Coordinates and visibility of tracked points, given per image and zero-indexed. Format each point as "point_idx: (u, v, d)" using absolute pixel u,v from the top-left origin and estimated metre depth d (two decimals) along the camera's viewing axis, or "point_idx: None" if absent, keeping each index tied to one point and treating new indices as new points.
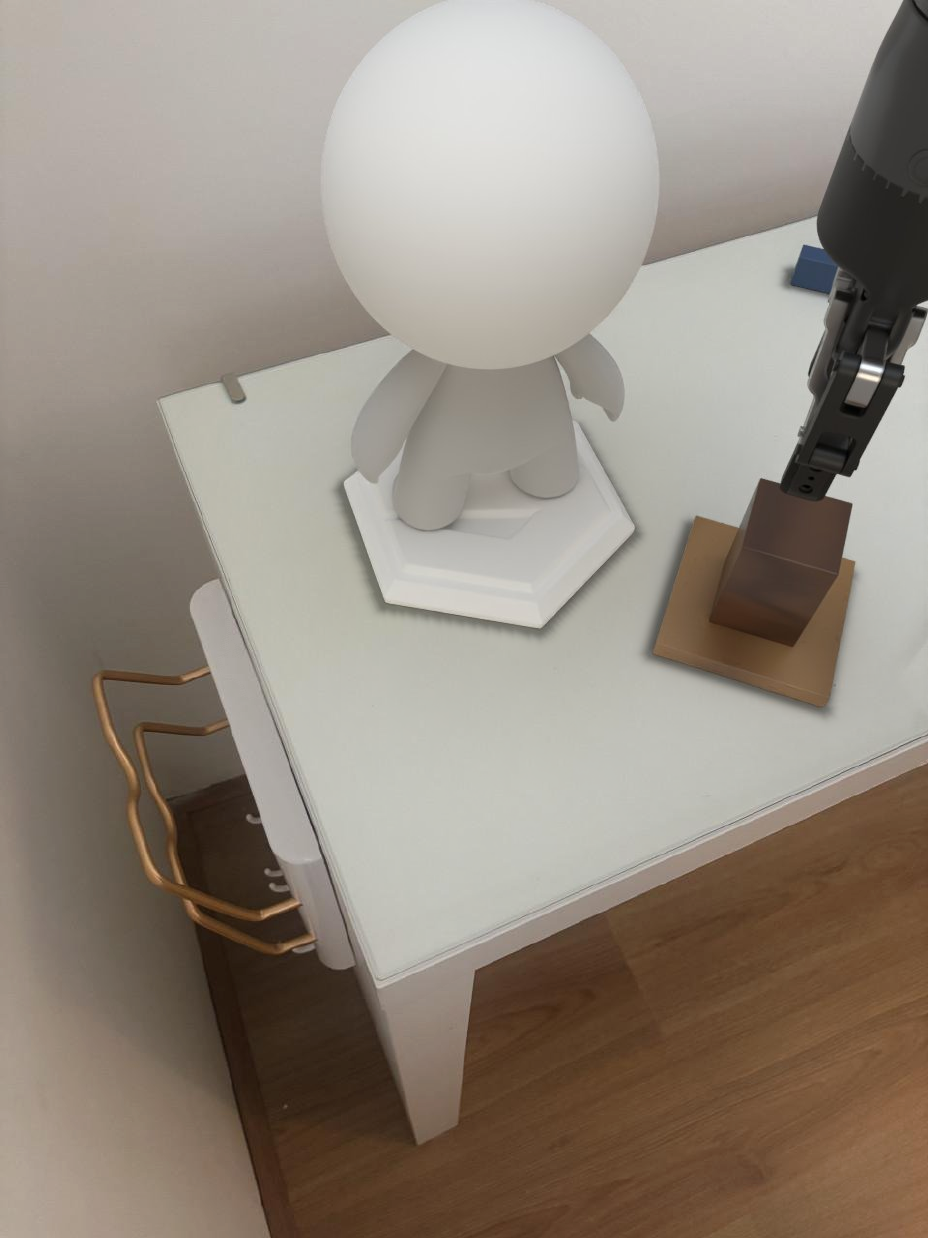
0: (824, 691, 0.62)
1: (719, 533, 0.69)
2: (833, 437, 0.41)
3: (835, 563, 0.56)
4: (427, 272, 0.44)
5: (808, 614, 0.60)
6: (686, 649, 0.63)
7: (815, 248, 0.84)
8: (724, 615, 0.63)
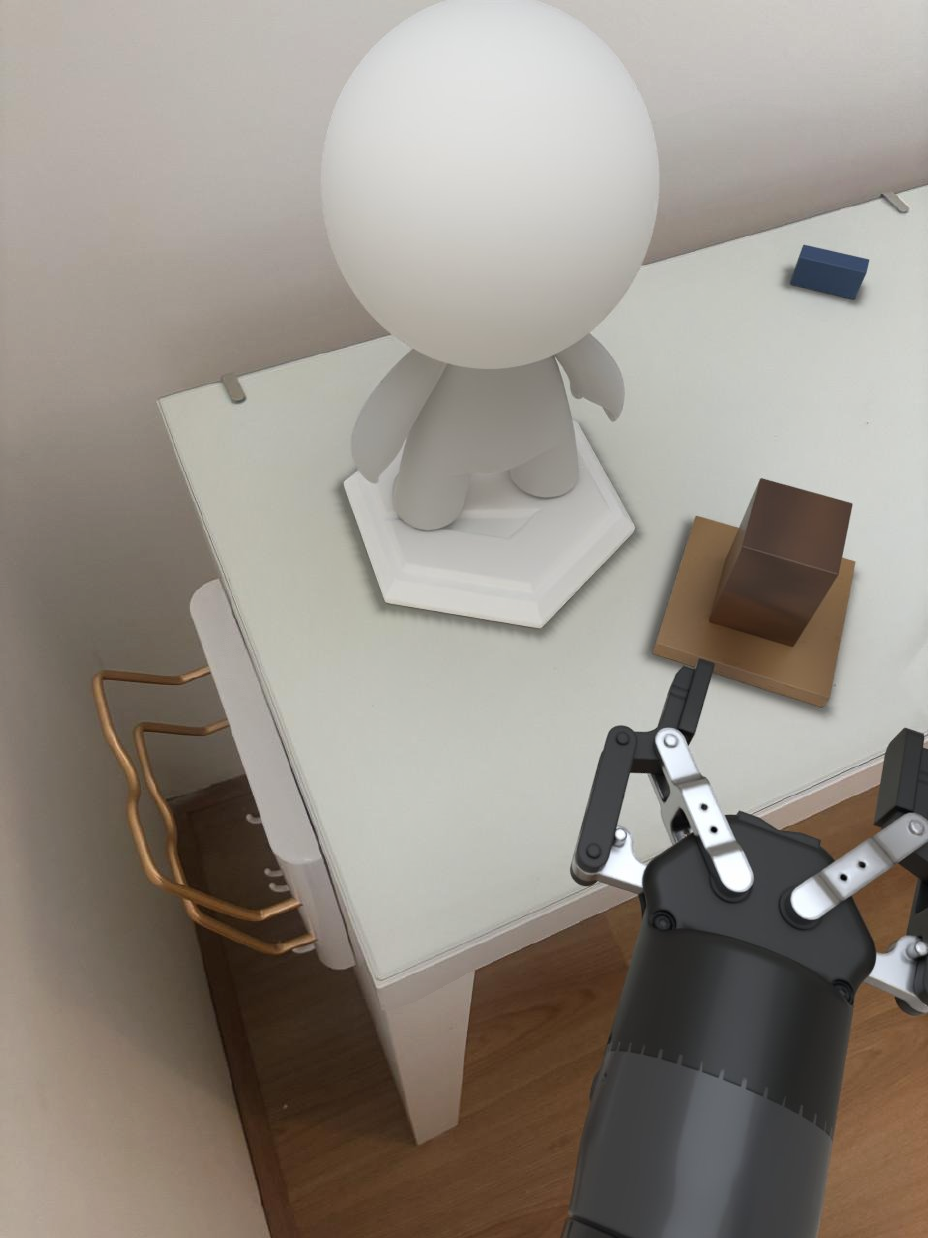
0: (824, 691, 0.62)
1: (719, 533, 0.69)
2: (921, 868, 0.35)
3: (835, 563, 0.56)
4: (427, 271, 0.44)
5: (808, 614, 0.60)
6: (686, 649, 0.63)
7: (815, 248, 0.84)
8: (724, 615, 0.63)
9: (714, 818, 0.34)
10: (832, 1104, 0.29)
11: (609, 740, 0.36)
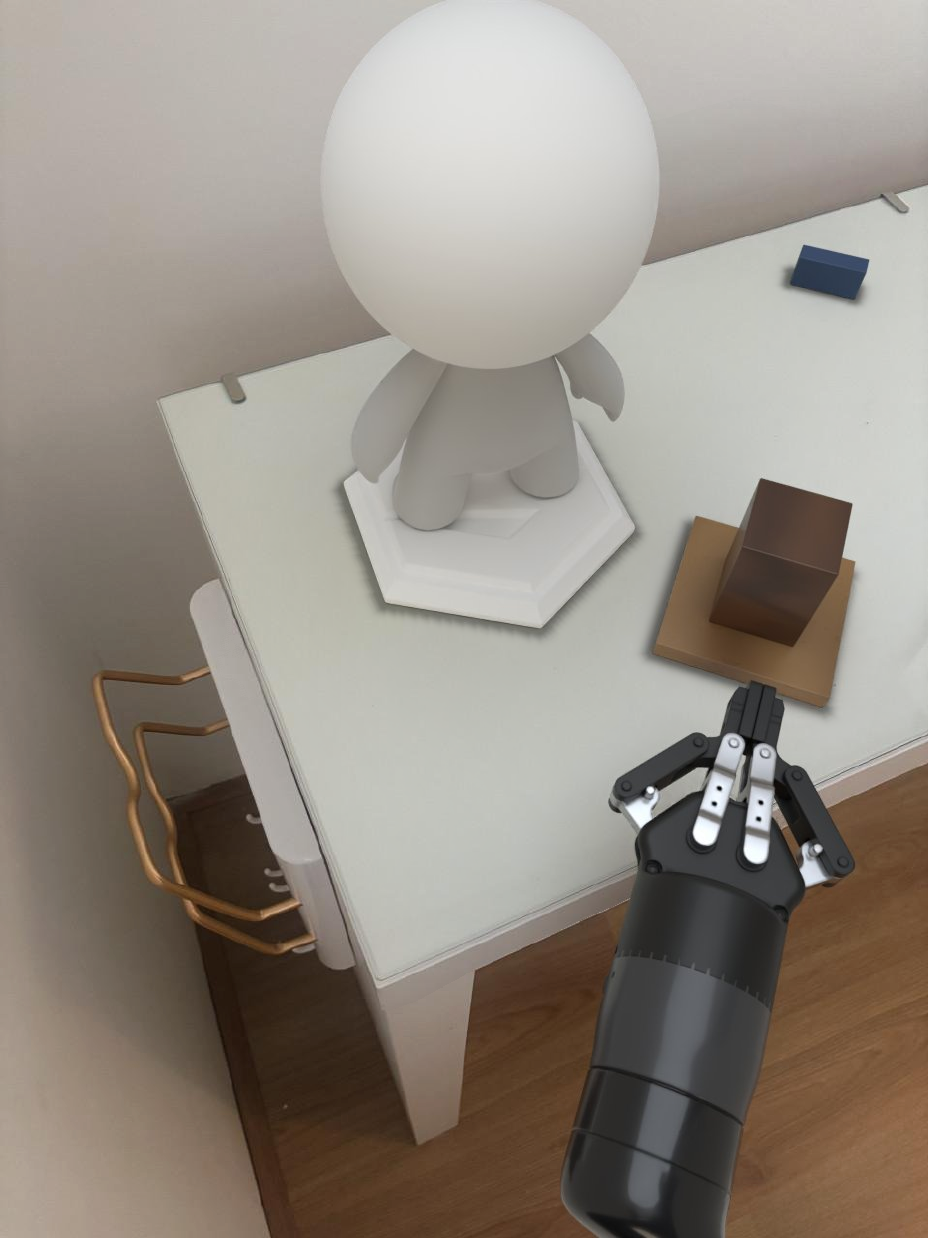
0: (824, 691, 0.62)
1: (719, 533, 0.69)
2: None
3: (835, 563, 0.56)
4: (427, 271, 0.44)
5: (808, 614, 0.60)
6: (686, 649, 0.63)
7: (815, 248, 0.84)
8: (724, 615, 0.63)
9: (720, 798, 0.47)
10: (770, 987, 0.41)
11: (688, 744, 0.49)
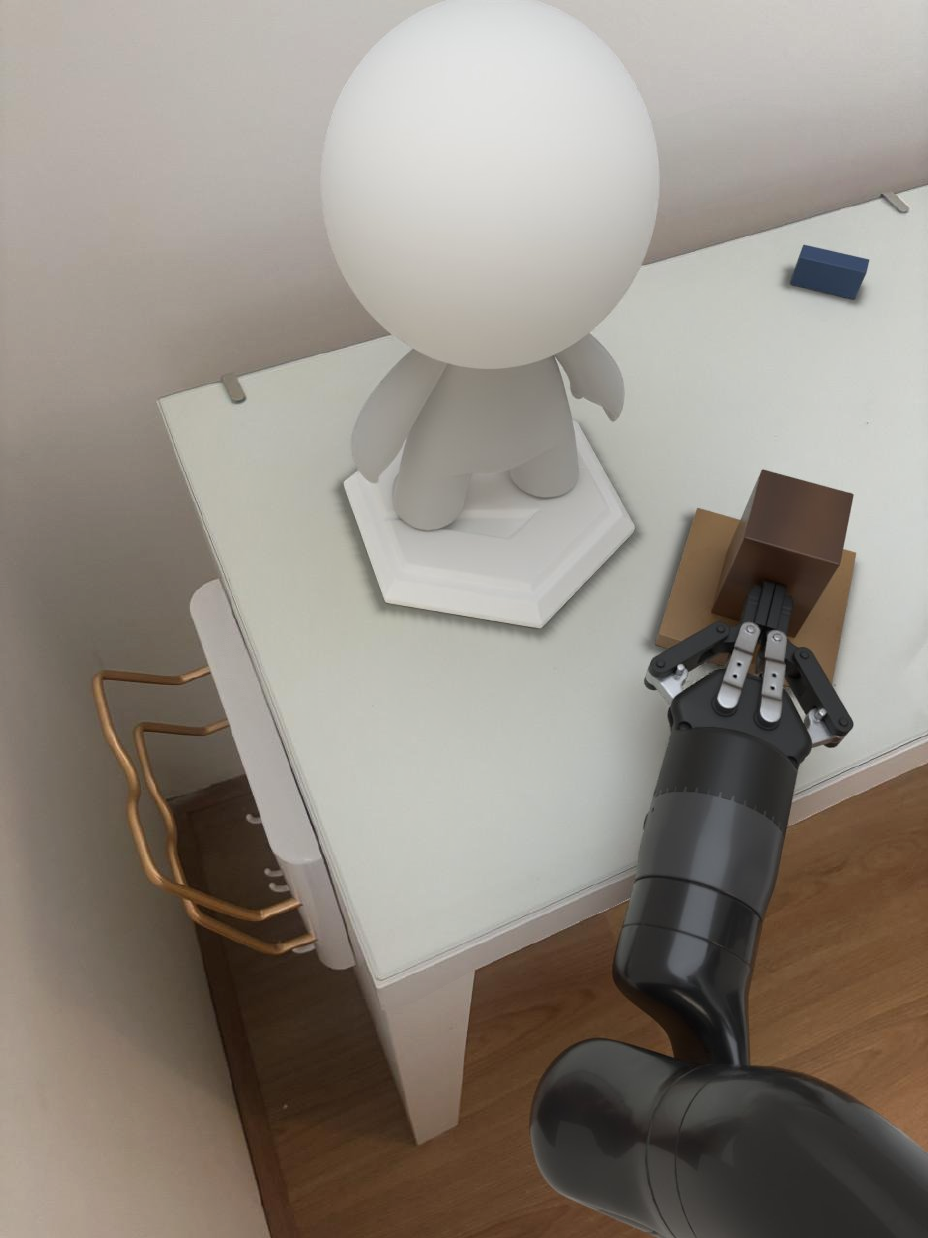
0: None
1: (721, 525, 0.69)
2: None
3: (836, 553, 0.57)
4: (427, 271, 0.44)
5: (810, 604, 0.60)
6: None
7: (815, 248, 0.84)
8: (726, 606, 0.64)
9: (740, 672, 0.55)
10: (783, 815, 0.50)
11: (712, 630, 0.57)
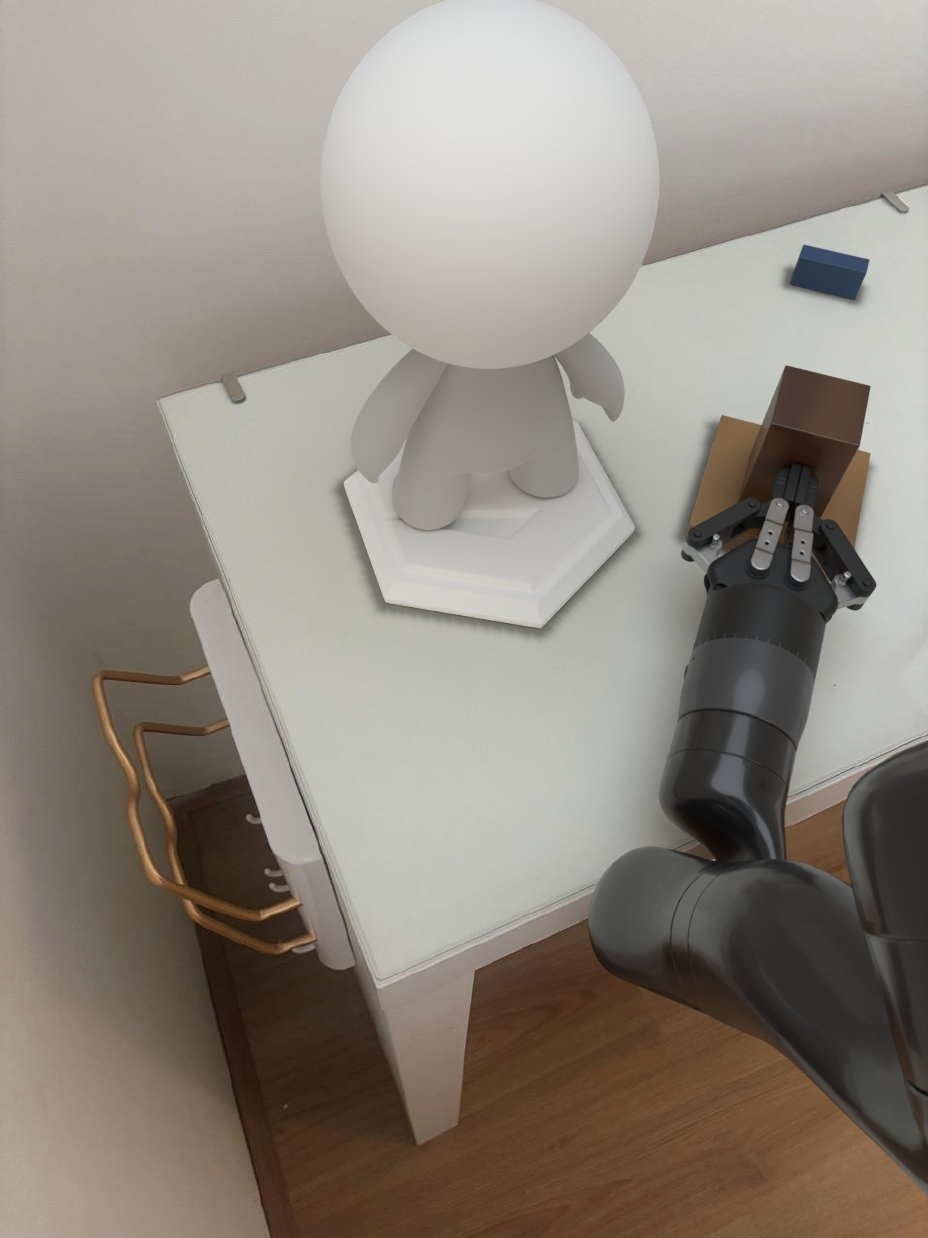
0: None
1: (744, 429, 0.74)
2: None
3: (856, 436, 0.62)
4: (427, 271, 0.44)
5: (830, 490, 0.65)
6: None
7: (815, 248, 0.84)
8: None
9: (771, 539, 0.60)
10: (814, 659, 0.55)
11: (744, 505, 0.62)
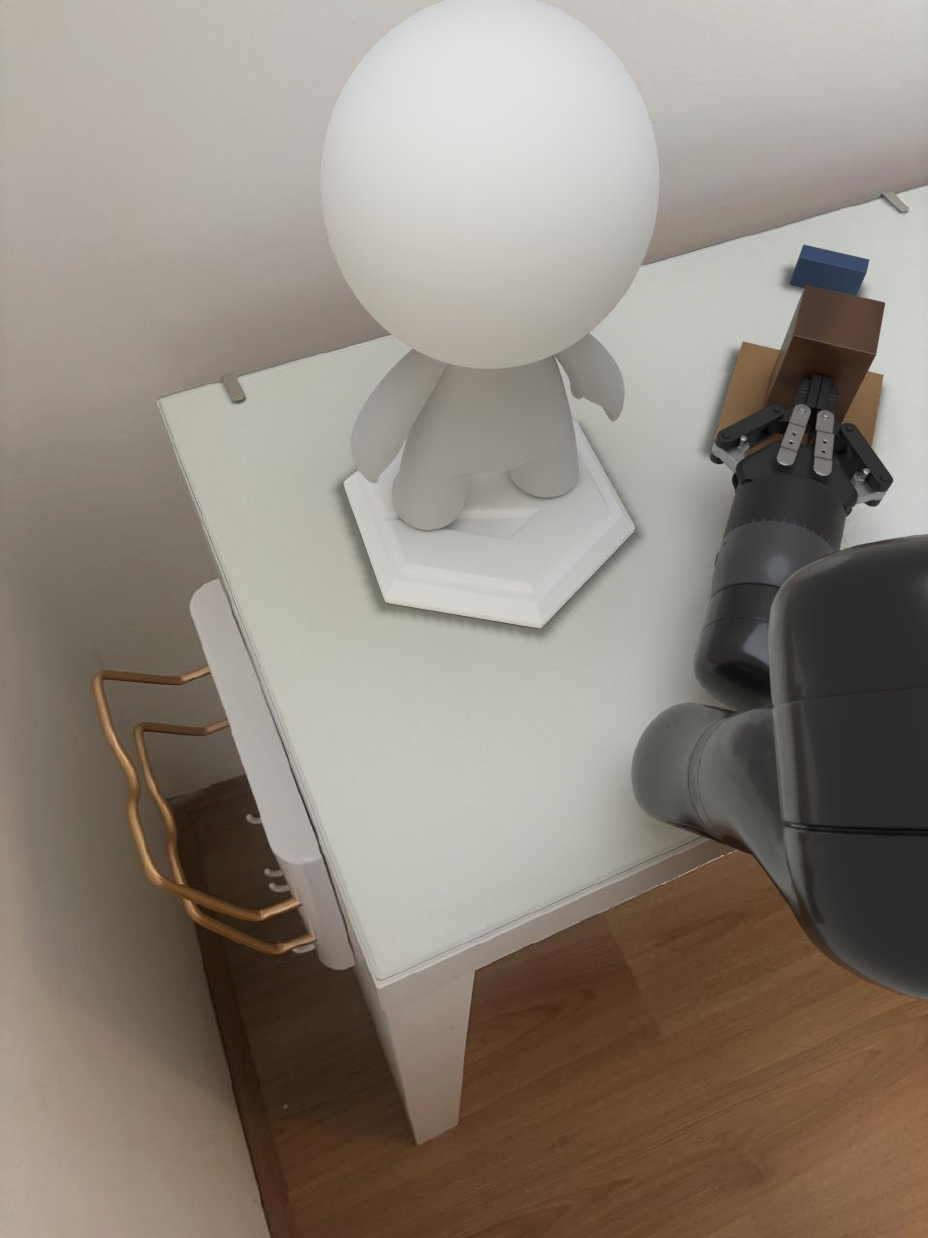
0: None
1: (764, 354, 0.79)
2: None
3: (873, 346, 0.66)
4: (427, 271, 0.44)
5: (848, 401, 0.70)
6: None
7: (815, 248, 0.84)
8: None
9: (795, 439, 0.65)
10: (836, 542, 0.59)
11: (769, 410, 0.67)
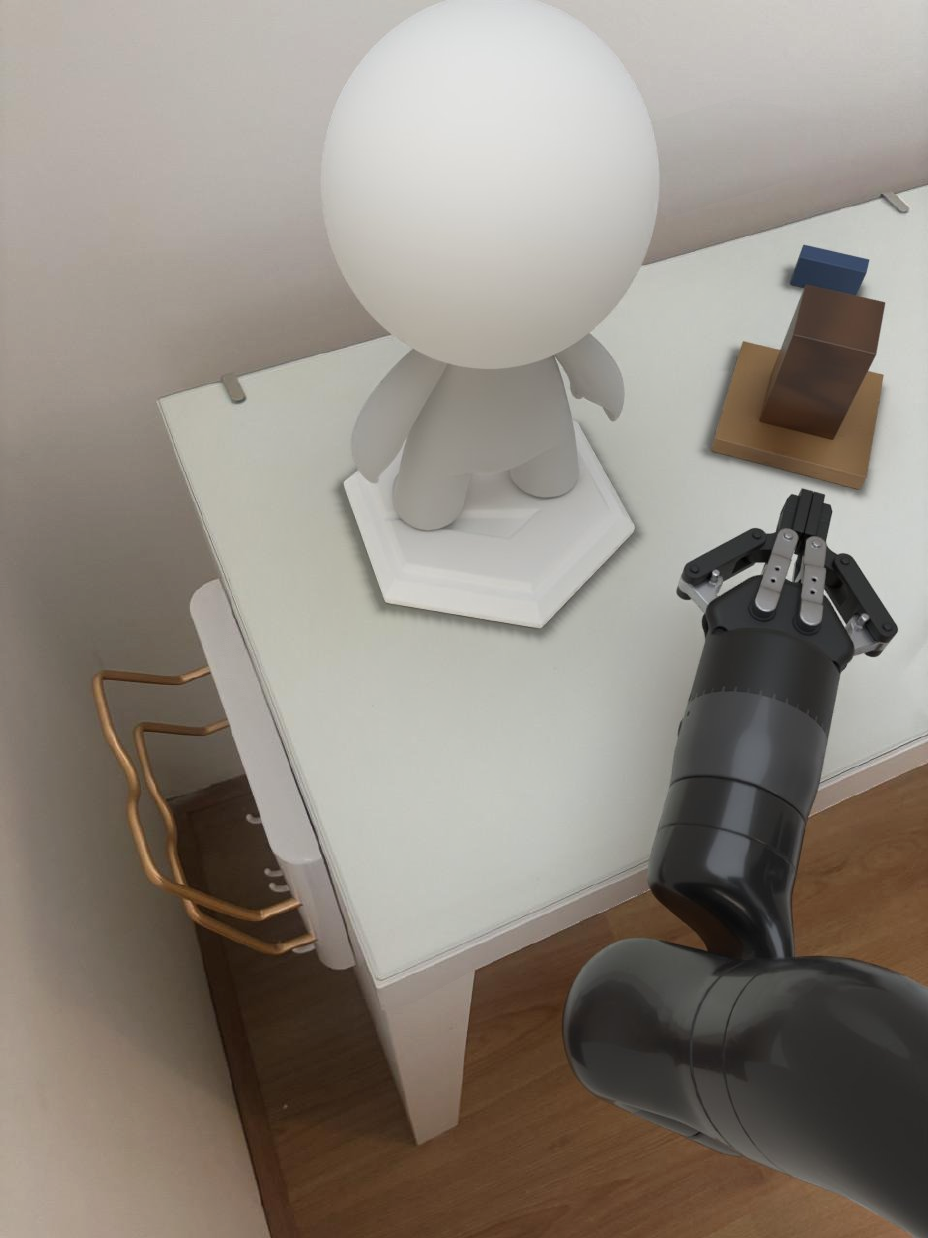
0: (861, 472, 0.72)
1: (764, 354, 0.79)
2: None
3: (873, 345, 0.66)
4: (427, 271, 0.44)
5: (848, 401, 0.70)
6: (741, 442, 0.73)
7: (815, 248, 0.84)
8: (773, 412, 0.73)
9: (778, 576, 0.53)
10: (826, 716, 0.48)
11: (748, 537, 0.55)
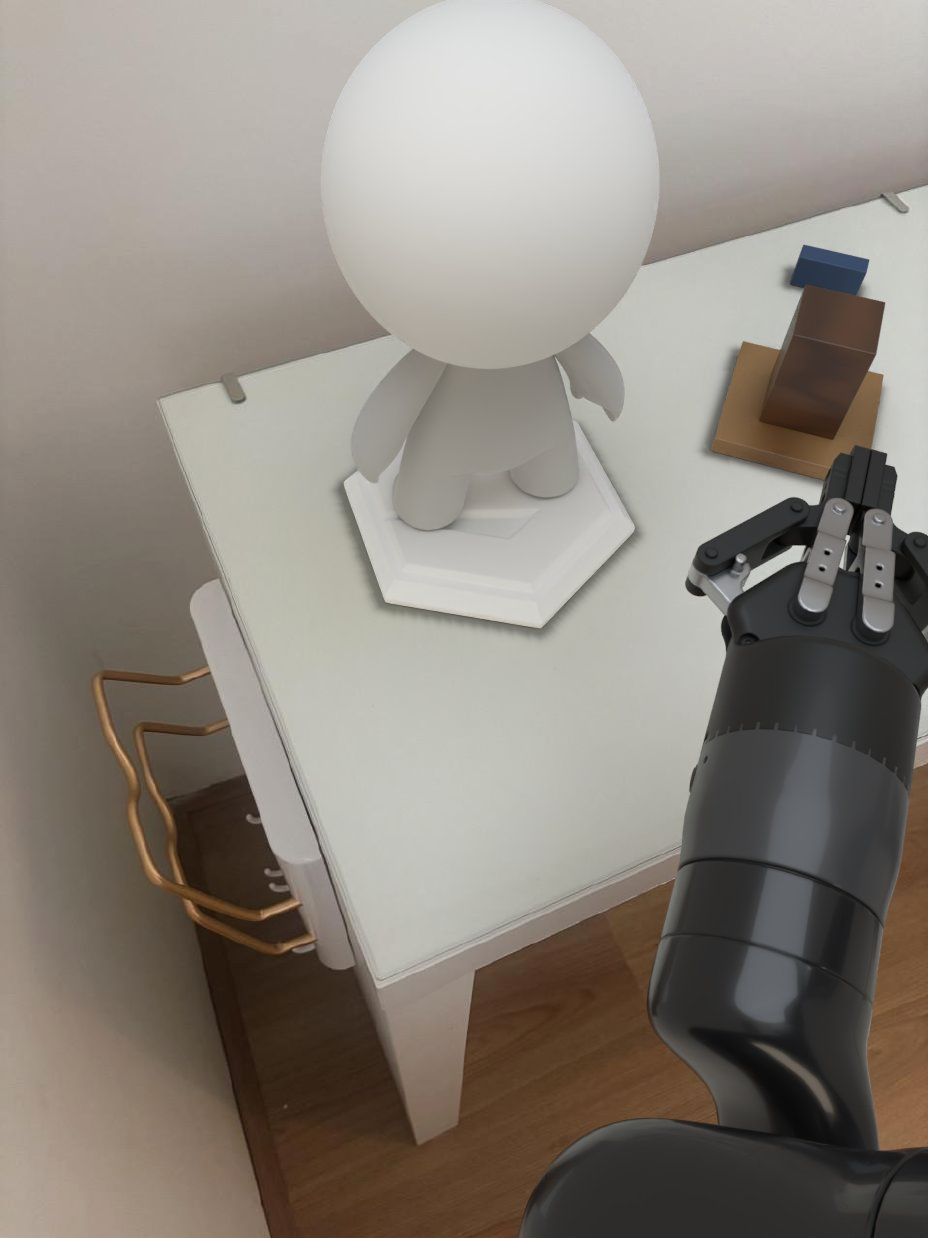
0: None
1: (764, 354, 0.79)
2: None
3: (873, 345, 0.66)
4: (427, 271, 0.44)
5: (848, 401, 0.70)
6: (741, 442, 0.73)
7: (815, 248, 0.84)
8: (773, 412, 0.73)
9: (829, 563, 0.38)
10: (908, 766, 0.33)
11: (784, 509, 0.40)
